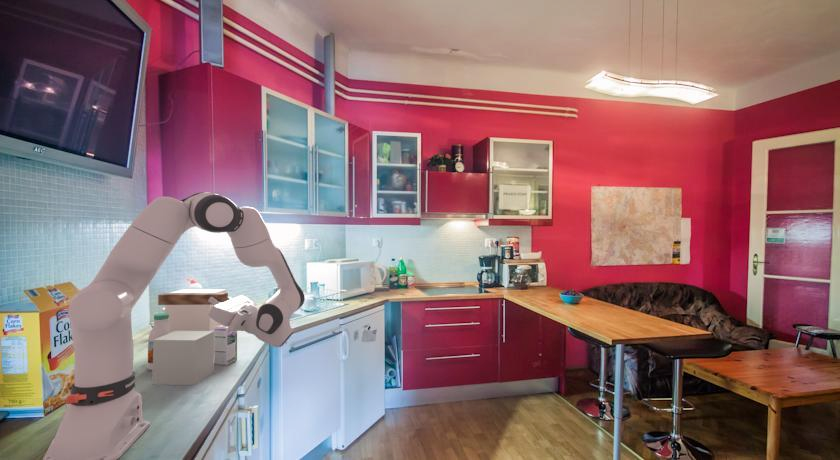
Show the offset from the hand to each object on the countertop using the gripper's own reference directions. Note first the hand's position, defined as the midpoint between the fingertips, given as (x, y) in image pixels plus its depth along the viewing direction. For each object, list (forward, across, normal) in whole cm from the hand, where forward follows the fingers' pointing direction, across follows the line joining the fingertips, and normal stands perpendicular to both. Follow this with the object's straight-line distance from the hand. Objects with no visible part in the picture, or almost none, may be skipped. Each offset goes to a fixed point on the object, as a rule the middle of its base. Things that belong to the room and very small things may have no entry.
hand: (214, 297), depth 122 cm
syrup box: (-11, -15, +27) cm, 33 cm away
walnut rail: (+5, 0, +6) cm, 8 cm away
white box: (+4, -24, +35) cm, 43 cm away
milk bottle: (+8, -9, +37) cm, 39 cm away
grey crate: (-6, 0, +30) cm, 30 cm away
